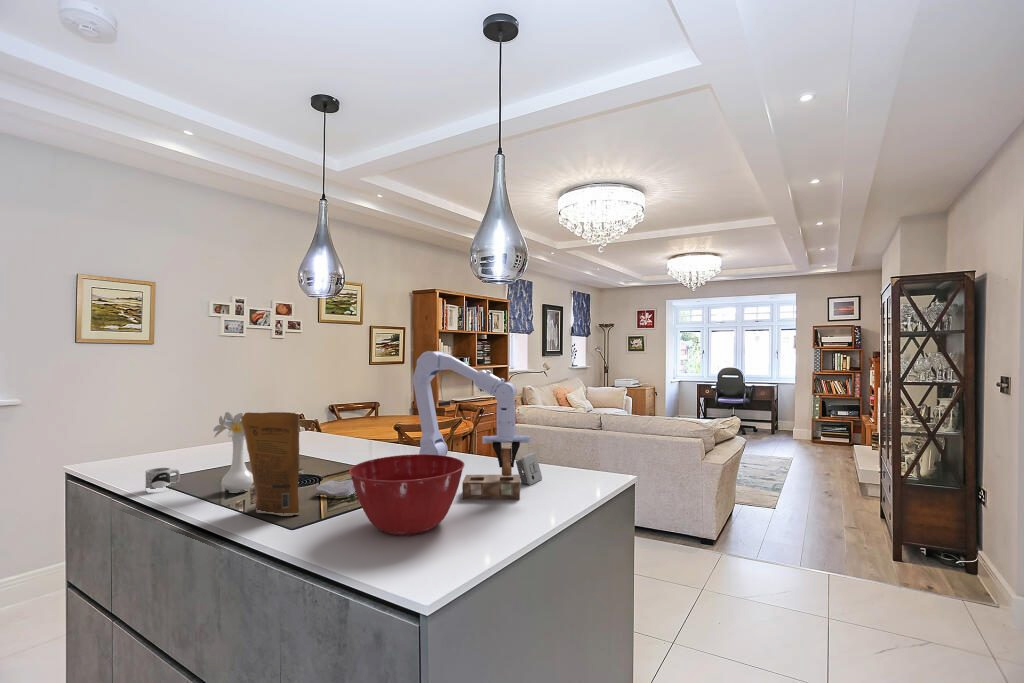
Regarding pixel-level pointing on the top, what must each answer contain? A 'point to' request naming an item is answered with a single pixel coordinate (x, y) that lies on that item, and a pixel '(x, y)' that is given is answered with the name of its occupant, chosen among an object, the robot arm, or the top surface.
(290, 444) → the pancake mix bag
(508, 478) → the socket block
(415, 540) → the top surface
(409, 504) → the mixing bowl
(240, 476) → the flower vase
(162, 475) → the mug
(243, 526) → the top surface
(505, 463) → the peg
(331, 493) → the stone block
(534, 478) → the electrical switch
